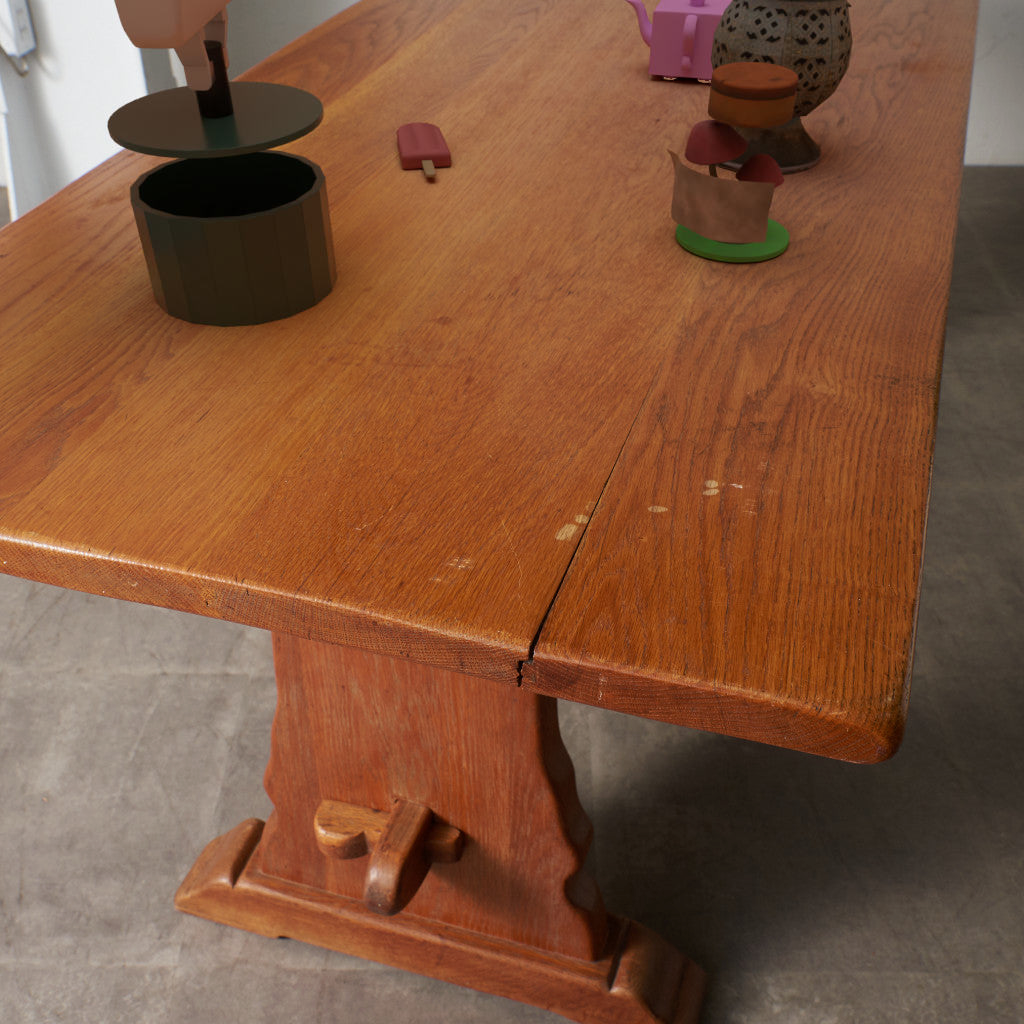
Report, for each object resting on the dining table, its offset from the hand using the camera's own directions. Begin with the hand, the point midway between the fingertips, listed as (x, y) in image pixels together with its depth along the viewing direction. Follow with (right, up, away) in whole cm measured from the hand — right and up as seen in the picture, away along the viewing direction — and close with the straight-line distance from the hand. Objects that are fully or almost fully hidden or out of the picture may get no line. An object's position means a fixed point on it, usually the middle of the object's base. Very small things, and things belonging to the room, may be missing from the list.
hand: (209, 79), depth 77 cm
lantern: (+51, +7, +37) cm, 63 cm away
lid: (0, -2, +2) cm, 3 cm away
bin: (0, -14, +11) cm, 18 cm away
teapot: (+47, +26, +60) cm, 80 cm away
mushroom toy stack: (+43, -7, +19) cm, 48 cm away
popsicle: (+13, +6, +36) cm, 38 cm away
